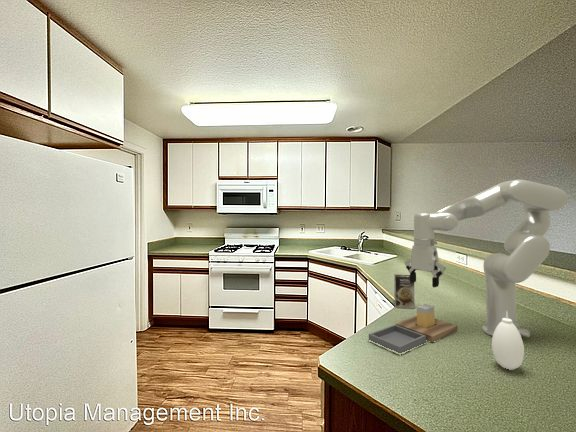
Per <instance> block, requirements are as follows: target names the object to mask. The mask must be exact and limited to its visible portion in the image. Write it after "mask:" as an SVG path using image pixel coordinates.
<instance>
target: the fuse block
mask: <svg viewBox="0 0 576 432" xmlns="http://www.w3.org/2000/svg"><path fill="white" fill-rule="evenodd" d="M416 316H417V326H420V327H423V328H426V329H428V328H430V327H432V326H435V319H436V318H435V306H434V305H431V304H427V303H423V304H420V305H418V306H416Z"/></svg>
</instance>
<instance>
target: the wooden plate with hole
mask: <svg viewBox="0 0 576 432" xmlns="http://www.w3.org/2000/svg"><path fill="white" fill-rule="evenodd" d="M394 325H397V326H400V327H403V328H406V329H409V330H411V331H414V332H417V333H420V334H422V335H425V336H426V340H427V341H426V342H428V341H430V342H434V341H436V342H438V341H437V340H439V339H441V340H442V338H443V339H445V338H447V337H449V336H452V335H453V334H455V333H457V332H458V325H457V324H454V323H451V322H447V321H443V320H441V319H437V318H435V326H432V327H430V328H428V329H426V328H423V327H420V326H417V315H415V316H413V317H410V318H408V319H405V320H402V321H399V322H396V323H395V324H394ZM444 337H445V338H444ZM439 341H440V340H439ZM430 342H429V343H430ZM434 343H435V342H434Z"/></svg>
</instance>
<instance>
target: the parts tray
mask: <svg viewBox="0 0 576 432" xmlns="http://www.w3.org/2000/svg"><path fill="white" fill-rule="evenodd" d="M369 340H371V341H373V342H375V343H378V344H380V345H382V346H384V347H386V348H389V349H391V350H394V351H396V352H398V353H402V352H405V351H407V350H410V349H412V348H414V347H417V346H419V345H421V344H424V343H426V344H427V341H426V336H425V335H422V334H420V333H417V332H414V331H411V330H409V329H406V328H403V327H400V326H397V325H395V324H392V325H389V326H386V327H384V328H381V329H378V330H376V331H373V332H371V333H368V341H369Z"/></svg>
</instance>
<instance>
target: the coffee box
mask: <svg viewBox="0 0 576 432" xmlns="http://www.w3.org/2000/svg"><path fill="white" fill-rule="evenodd" d="M393 275H394V279H393V281H394V282H393V283H394V286H393V287H394V291H393V292H394V294H393V295H394V307H395V308H396V309H410V310H415V282H412V283H411V282H410V274H393Z"/></svg>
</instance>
